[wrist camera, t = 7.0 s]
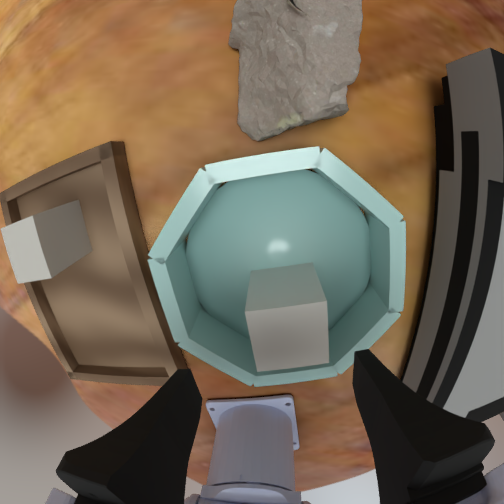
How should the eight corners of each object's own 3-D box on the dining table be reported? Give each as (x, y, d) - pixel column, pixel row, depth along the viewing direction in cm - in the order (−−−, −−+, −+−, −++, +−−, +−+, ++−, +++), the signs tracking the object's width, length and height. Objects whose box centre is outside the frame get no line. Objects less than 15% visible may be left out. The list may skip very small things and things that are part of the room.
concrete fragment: (222, 136, 17) (200, 128, 11) (241, -34, 13) (231, -83, 7) (334, 147, 17) (364, 144, 11) (339, -24, 12) (358, -70, 7)
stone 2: (316, 315, 20) (328, 362, 15) (260, 322, 20) (257, 371, 15) (312, 262, 18) (326, 301, 14) (250, 270, 19) (244, 311, 14)
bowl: (378, 329, 21) (396, 363, 17) (205, 353, 22) (193, 389, 18) (370, 142, 16) (398, 140, 12) (157, 176, 18) (128, 183, 14)
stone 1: (92, 250, 19) (51, 278, 14) (58, 258, 20) (18, 283, 15) (78, 199, 18) (32, 215, 13) (44, 211, 19) (0, 228, 14)
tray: (189, 371, 23) (184, 385, 21) (78, 368, 24) (70, 378, 23) (123, 141, 17) (110, 141, 16) (12, 190, 19) (-1, 193, 17)
